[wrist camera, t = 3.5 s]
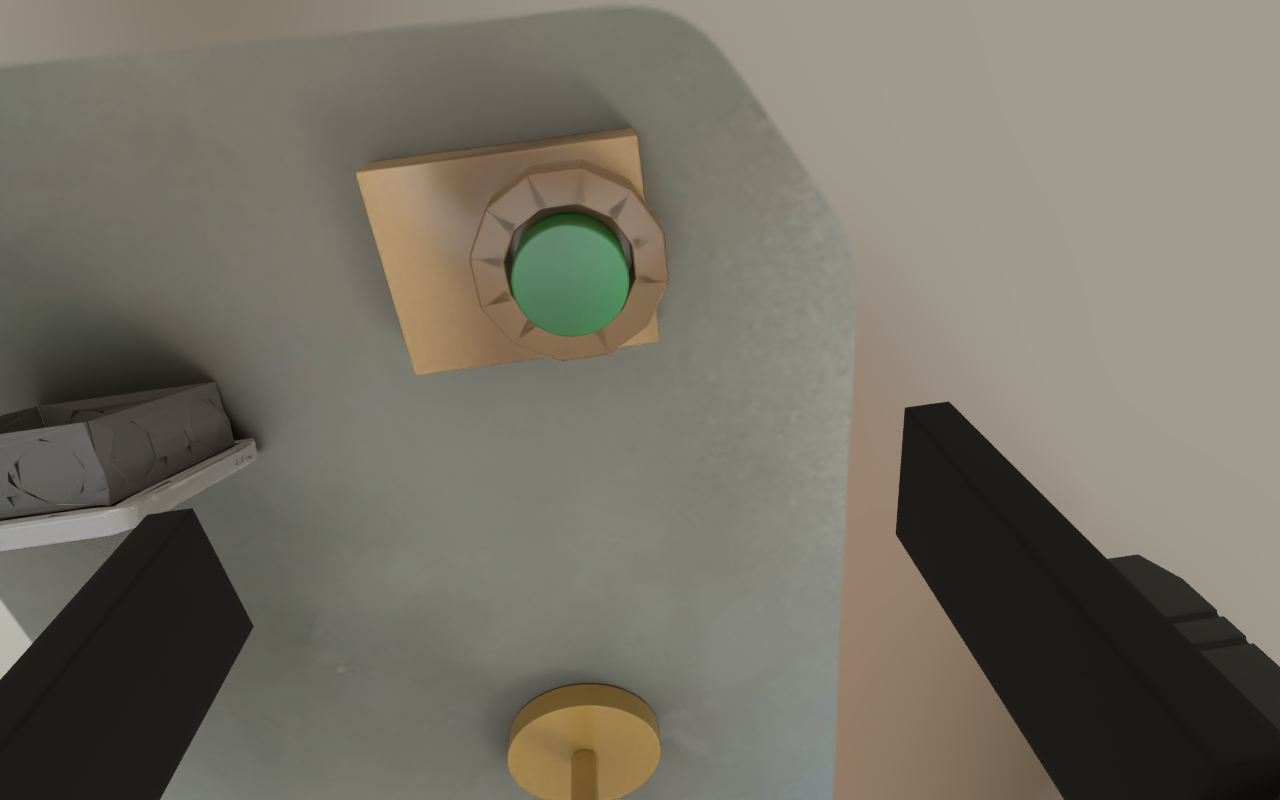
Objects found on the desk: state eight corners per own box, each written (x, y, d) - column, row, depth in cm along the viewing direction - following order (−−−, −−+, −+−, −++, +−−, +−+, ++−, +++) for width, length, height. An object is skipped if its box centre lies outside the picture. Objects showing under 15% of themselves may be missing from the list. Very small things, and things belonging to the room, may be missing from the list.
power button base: (644, 125, 27) (655, 140, 23) (664, 320, 30) (676, 359, 27) (370, 162, 26) (339, 181, 23) (424, 353, 30) (405, 396, 27)
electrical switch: (61, 481, 32) (-133, 617, 23) (8, 374, 30) (-226, 480, 21) (269, 451, 32) (153, 576, 23) (229, 343, 30) (86, 436, 21)
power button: (618, 204, 24) (621, 215, 23) (632, 311, 26) (636, 329, 25) (504, 219, 24) (499, 232, 23) (526, 326, 26) (523, 344, 25)
